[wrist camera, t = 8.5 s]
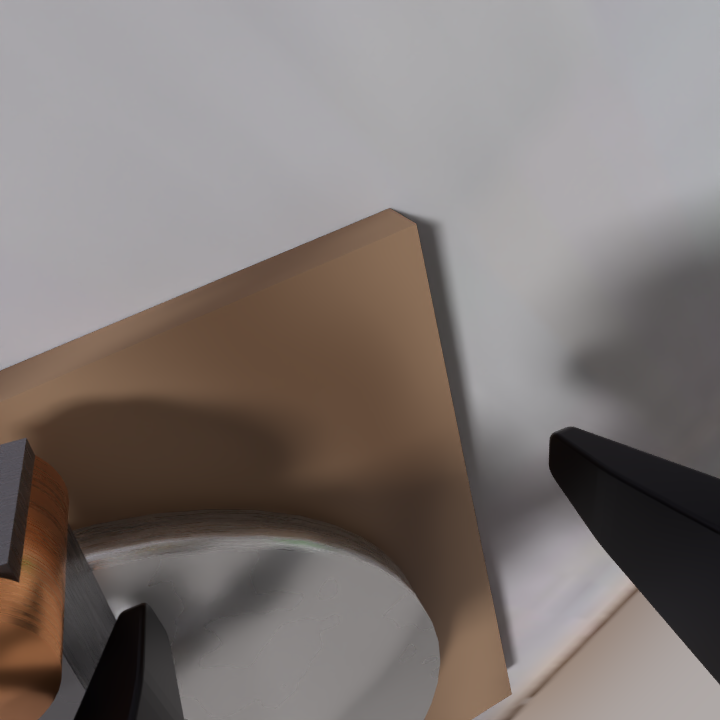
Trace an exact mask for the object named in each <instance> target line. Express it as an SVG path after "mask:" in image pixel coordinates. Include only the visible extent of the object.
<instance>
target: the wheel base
mask: <svg viewBox="0 0 720 720" xmlns="http://www.w3.org/2000/svg"><path fill="white" fill-rule="evenodd" d="M23 438H27V440H28V442H29V444H30V446H31V448H32V450H33V452H34V454H35V456H37V457H39V458H41V459H42V460H44V461H45V462H47V463H48V464H50V465H51V466H52V467H53V468H54V469H55V470H56V471H57V472H58V474H59V475H60V476H61V477H62V479H63V481H64V483H65V485H66V488H67V490H68V496H69V511H68V523H69V525H70V527H71V529H72V531H73V530H77V529H80V528H84V527H87V526H91V525H95V524H100V523H105V522H111V521H116V520H122V519H127V518H133V517H138V516H144V515H149V514H157V513H168V512H179V511H191V510H202V509H242V510H261V511H269V512H277V513H285V514H293V515H299V516H303V517H306V518H310V519H314V520H318V521H322V522H326V523H329V524H333V525H335V526H337V527H340V528H342V529H344V530H347V531H349V532H351V533H354V534H356V535H358V536H361V537H362V538H364V539H365V540H367V541H368V542H370V543H371V544H373V545H374V546H376V547H377V548H379V549H380V550H382V551H383V552H384V553H385V554H386V555H387V556H388V557H389V558H390V559H391V560H392V561H393V562H394V563H395V564H396V565H397V566H398V567H399V568H400V569H401V571H402V572H403V574H404V575H405V577H406V579H407V580H408V582H409V583H410V585H411V587H412V588H413V590H414V592H415V593H416V595H417V597H418V599H419V600H420V602H421V604H422V606H423V607H424V609H425V611H426V612H427V614H428V616H429V618H430V619H431V621H432V623H433V626H434V629H435V632H436V635H437V638H438V641H439V653H440V668H439V676H438V683H437V686H436V690H435V693H434V697H433V700H432V703H431V705H430V708H429V710H428V712H427V714H426V716H425V719H424V720H471V719H473V718H475V717H476V716H478V715H479V714H481V713H483V712H484V711H486V710H487V709H489V708H491V707H492V706H494V705H495V704H497V703H498V702H500V701H502V700H503V699H505V698H506V697H508V696H510V695H511V694H512V693H511V688H510V683H509V678H508V673H507V668H506V663H505V658H504V654H503V649H502V644H501V639H500V634H499V629H498V624H497V619H496V614H495V609H494V604H493V599H492V594H491V589H490V584H489V580H488V575H487V570H486V565H485V560H484V555H483V550H482V545H481V540H480V535H479V530H478V525H477V520H476V515H475V510H474V505H473V501H472V496H471V491H470V486H469V481H468V476H467V471H466V466H465V461H464V456H463V451H462V446H461V441H460V436H459V431H458V427H457V422H456V417H455V412H454V407H453V402H452V397H451V392H450V387H449V382H448V377H447V372H446V367H445V362H444V357H443V353H442V348H441V343H440V338H439V333H438V328H437V323H436V318H435V313H434V308H433V303H432V298H431V293H430V288H429V283H428V278H427V274H426V269H425V264H424V259H423V254H422V249H421V244H420V239H419V234H418V229H417V224H416V223H414V222H412V221H411V220H409V219H407V218H406V217H404V216H402V215H401V214H399V213H397V212H395V211H394V210H392V209H390V208H389V209H387V210H384V211H382V212H379V213H377V214H375V215H372V216H370V217H367V218H365V219H363V220H360V221H358V222H355V223H353V224H351V225H348V226H346V227H343V228H341V229H339V230H336V231H334V232H331V233H329V234H327V235H324V236H322V237H319V238H317V239H315V240H312V241H310V242H308V243H305V244H303V245H300V246H298V247H296V248H293V249H291V250H288V251H286V252H284V253H281V254H279V255H276V256H274V257H272V258H269V259H267V260H264V261H262V262H260V263H257V264H255V265H252V266H250V267H248V268H245V269H243V270H240V271H238V272H236V273H233V274H231V275H228V276H226V277H224V278H221V279H219V280H216V281H214V282H212V283H209V284H207V285H205V286H202V287H200V288H197V289H195V290H193V291H190V292H188V293H185V294H183V295H181V296H178V297H176V298H173V299H171V300H169V301H166V302H164V303H161V304H159V305H157V306H154V307H152V308H149V309H147V310H145V311H142V312H140V313H137V314H135V315H133V316H130V317H128V318H125V319H123V320H121V321H118V322H116V323H113V324H111V325H109V326H106V327H104V328H102V329H99V330H97V331H94V332H92V333H90V334H87V335H85V336H82V337H80V338H78V339H75V340H73V341H70V342H68V343H66V344H63V345H61V346H58V347H56V348H54V349H51V350H49V351H46V352H44V353H42V354H39V355H37V356H34V357H32V358H30V359H27V360H25V361H22V362H20V363H18V364H15V365H13V366H10V367H8V368H6V369H3V370H1V371H0V445H1V444H5V443H8V442H12V441H16V440H19V439H23Z"/></svg>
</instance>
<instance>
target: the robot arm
mask: <svg viewBox="0 0 720 720" xmlns="http://www.w3.org/2000/svg"><path fill="white" fill-rule="evenodd" d="M549 468H550V471H551V474H552V476H553V477H554V479H555V480H556V482H557V483H558V485H559V486H560V488H561V489H562V491H563V492H564V493H565V495H566V496H567V498H568V499H569V501H570V502H571V504H572V505H573V506H574V508H575V509H576V511H577V512H578V514H579V515H580V517H581V518H582V520H583V521H584V522H585V524H586V525H587V527H588V528H589V530H590V531H591V533H592V534H593V535H594V537H595V538H596V539H597V541H598V542H599V543H600V545H601V546H602V547H603V548H604V550H605V551H606V552H607V553H608V554H609V556H610V557H611V558H612V559H613V560H614V561H615V563H616V564H617V565H618V566H619V567H620V568H621V570H622V571H623V572H624V573H625V574H626V576H627V577H628V578H629V579H630V580H631V581H632V583H633V584H634V585H635V586H636V587H637V588H638V590H639V591H640V592H641V593H642V594H643V595H644V597H645V598H646V599H647V600H648V601H649V602H650V604H651V605H652V606H653V607H654V608H655V609H656V611H657V612H658V613H659V614H660V615H661V616H662V617H663V619H664V620H665V621H666V622H667V623H668V625H669V626H670V627H671V628H672V629H673V630H674V632H675V633H676V634H677V635H678V636H679V638H680V639H681V640H682V641H683V642H684V643H685V645H686V646H687V647H688V648H689V649H690V650H691V652H692V653H693V654H694V655H695V656H696V657H697V658H698V660H699V661H700V662H701V663H702V664H703V666H704V667H705V668H706V669H707V670H708V671H709V672H710V674H711V675H712V676H713V677H714V678H715V680H716V681H717V682H718V683H719V684H720V479H719V478H716V477H713V476H710V475H708V474H705V473H702V472H699V471H696V470H694V469H691V468H688V467H685V466H682V465H680V464H677V463H674V462H671V461H668V460H666V459H663V458H660V457H657V456H654V455H652V454H649V453H646V452H643V451H640V450H637V449H635V448H632V447H629V446H626V445H623V444H621V443H618V442H615V441H612V440H609V439H607V438H604V437H601V436H598V435H595V434H593V433H590V432H587V431H584V430H581V429H579V428H576V427H566V428H564V429H561V430H559V431H556V432H554V433H552V435H551V436H550V442H549ZM73 720H184V715H183V710H182V705H181V699H180V694H179V689H178V683H177V678H176V673H175V667H174V662H173V656H172V651H171V646H170V641H169V637H168V635H167V632H166V630H165V628H164V626H163V625H162V623H161V622H160V620H159V619H158V617H157V615H156V614H155V612H154V611H153V609H152V608H151V606H150V605H149V604H148V603H145V602H144V603H140V604H138V605H136V606H133V607H131V608H128V609H126V610H124V611H122V612H121V613H120V614H119V616H118V618H117V620H116V622H115V624H114V627H113V629H112V631H111V634H110V636H109V638H108V641H107V643H106V645H105V648H104V650H103V652H102V655H101V657H100V659H99V661H98V664H97V666H96V668H95V671H94V673H93V675H92V678H91V680H90V682H89V685H88V687H87V689H86V692H85V694H84V696H83V699H82V701H81V703H80V705H79V708H78V710H77V712H76V715H75V717H74V719H73Z"/></svg>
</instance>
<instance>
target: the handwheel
mask: <svg viewBox="0 0 720 720" xmlns="http://www.w3.org/2000/svg"><path fill="white" fill-rule="evenodd" d="M68 511H69V496H68V490H67V488H66V485H65V483H64V481H63V479H62V477H61V476H60V475H59V474H58V472H57V471H56V470H55V469H54V468H53V467H52V466H51V465H50V464H48V463H47V462H45V461H44V460H42V459H41V458H39V457H37V456H35V454H34V452H33V450H32V448H31V446H30V444H29V442H28V440H27V438H23V439H19V440H16V441H12V442H8V443H5V444H1V445H0V720H73V719H74V717H75V715H76V712H77V710H78V708H79V705H80V703H81V701H82V699H83V696H84V694H85V692H86V689H87V687H88V685H89V682H90V680H91V678H92V675H93V673H94V671H95V668H96V666H97V664H98V661H99V659H100V657H101V655H102V652H103V650H104V648H105V645H106V643H107V641H108V638H109V636H110V634H111V631H112V629H113V627H114V624H115V622H116V620H117V618H118V616H119V614H120V613H121V612H122V611H124V610H126V609H128V608H131V607H133V606H136V605H138V604H140V603H144V602H145V603H148V604H149V605H150V606H151V608H152V609H153V611H154V612H155V614H156V615H157V617H158V619H159V620H160V622H161V623H162V625H163V626H164V628H165V630H166V632H167V635H168V637H169V641H170V646H171V651H172V656H173V662H174V667H175V673H176V678H177V683H178V689H179V694H180V699H181V705H182V710H183V715H184V720H424V719H425V716H426V714H427V712H428V710H429V708H430V705H431V703H432V700H433V697H434V693H435V690H436V686H437V683H438V676H439V668H440V653H439V641H438V638H437V635H436V632H435V629H434V626H433V623H432V621H431V619H430V618H429V616H428V614H427V612H426V611H425V609H424V607H423V606H422V604H421V602H420V600H419V599H418V597H417V595H416V593H415V592H414V590H413V588H412V587H411V585H410V583H409V582H408V580H407V579H406V577H405V575H404V574H403V572H402V571H401V569H400V568H399V567H398V566H397V565H396V564H395V563H394V562H393V561H392V560H391V559H390V558H389V557H388V556H387V555H386V554H385V553H384V552H383V551H382V550H380V549H379V548H377V547H376V546H374V545H373V544H371V543H370V542H368V541H367V540H365V539H364V538H362V537H361V536H358V535H356V534H354V533H351V532H349V531H347V530H344V529H342V528H340V527H337V526H335V525H333V524H329V523H326V522H322V521H318V520H314V519H310V518H306V517H303V516H299V515H293V514H285V513H277V512H269V511H261V510H242V509H202V510H191V511H179V512H168V513H157V514H149V515H144V516H138V517H133V518H127V519H122V520H116V521H111V522H105V523H100V524H95V525H91V526H87V527H84V528H80V529H77V530H73V531H72V529H71V527H70V525H69V523H68Z"/></svg>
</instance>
